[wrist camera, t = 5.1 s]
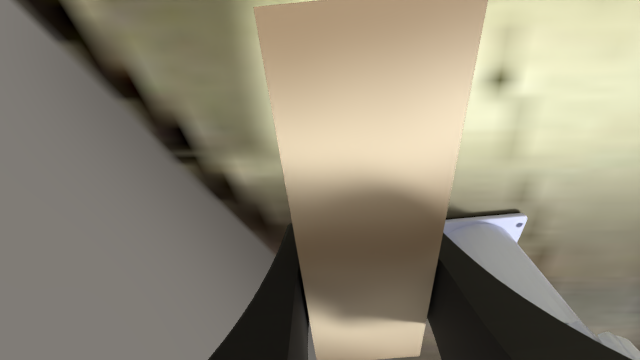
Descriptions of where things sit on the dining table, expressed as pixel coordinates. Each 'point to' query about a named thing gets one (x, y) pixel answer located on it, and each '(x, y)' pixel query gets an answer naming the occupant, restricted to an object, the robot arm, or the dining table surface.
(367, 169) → the peg
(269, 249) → the dining table surface
